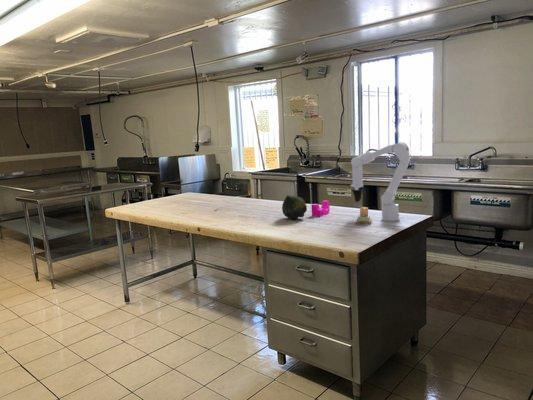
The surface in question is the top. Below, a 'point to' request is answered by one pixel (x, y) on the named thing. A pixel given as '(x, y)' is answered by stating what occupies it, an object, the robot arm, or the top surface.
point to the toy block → (320, 209)
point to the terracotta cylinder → (363, 211)
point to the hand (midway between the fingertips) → (358, 200)
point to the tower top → (363, 218)
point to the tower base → (363, 222)
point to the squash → (294, 207)
